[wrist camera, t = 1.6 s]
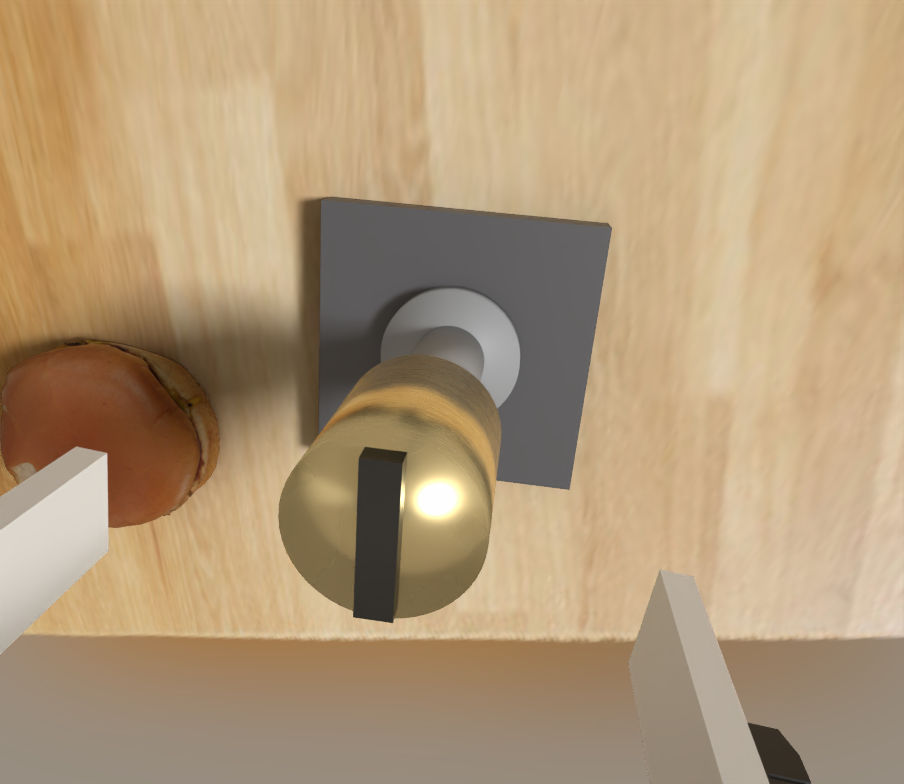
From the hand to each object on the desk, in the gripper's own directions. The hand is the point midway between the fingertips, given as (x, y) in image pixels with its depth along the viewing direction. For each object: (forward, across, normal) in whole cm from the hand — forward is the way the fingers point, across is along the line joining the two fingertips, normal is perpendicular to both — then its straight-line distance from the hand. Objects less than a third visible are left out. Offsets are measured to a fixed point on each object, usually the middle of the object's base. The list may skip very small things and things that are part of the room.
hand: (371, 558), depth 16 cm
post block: (+17, 0, 0) cm, 17 cm away
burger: (+17, -16, -7) cm, 24 cm away
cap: (+7, 0, 0) cm, 7 cm away
